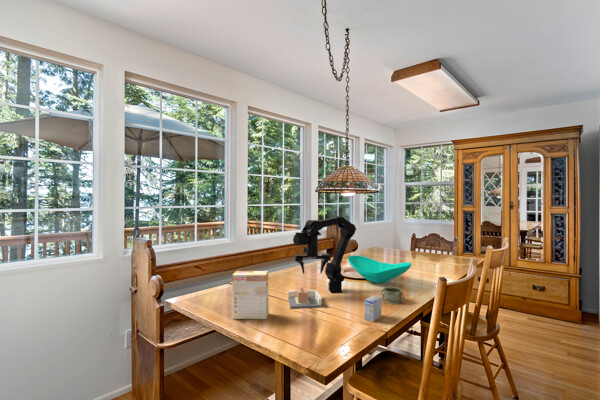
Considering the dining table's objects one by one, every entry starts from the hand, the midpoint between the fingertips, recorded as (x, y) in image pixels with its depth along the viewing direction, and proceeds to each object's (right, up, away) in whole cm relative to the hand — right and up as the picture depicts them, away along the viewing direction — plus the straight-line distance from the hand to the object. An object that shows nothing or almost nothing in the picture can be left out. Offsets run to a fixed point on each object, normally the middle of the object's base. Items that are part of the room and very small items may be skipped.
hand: (312, 273), depth 163 cm
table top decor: (+41, -12, +27) cm, 51 cm away
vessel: (+40, -12, -7) cm, 43 cm away
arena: (-5, -12, -9) cm, 16 cm away
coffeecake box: (-28, -13, -26) cm, 41 cm away
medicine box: (+25, -13, -28) cm, 40 cm away
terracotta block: (-6, -11, -9) cm, 15 cm away
